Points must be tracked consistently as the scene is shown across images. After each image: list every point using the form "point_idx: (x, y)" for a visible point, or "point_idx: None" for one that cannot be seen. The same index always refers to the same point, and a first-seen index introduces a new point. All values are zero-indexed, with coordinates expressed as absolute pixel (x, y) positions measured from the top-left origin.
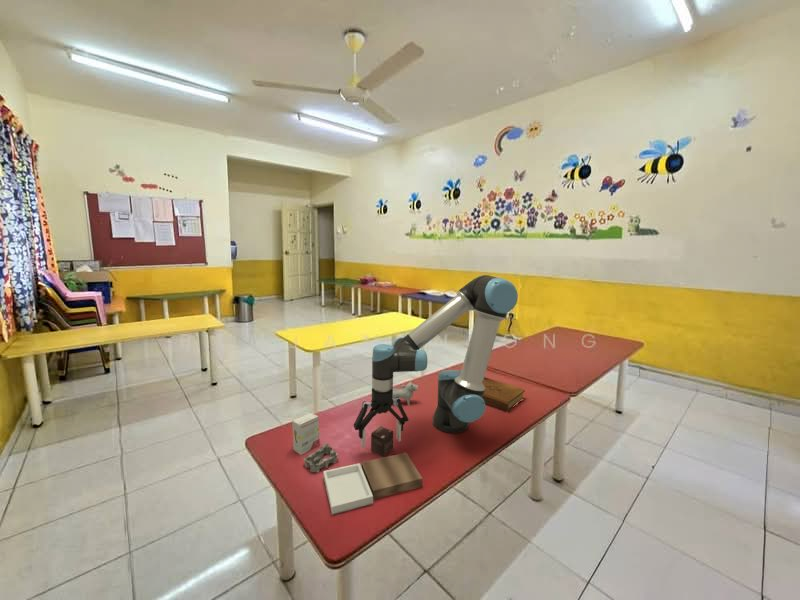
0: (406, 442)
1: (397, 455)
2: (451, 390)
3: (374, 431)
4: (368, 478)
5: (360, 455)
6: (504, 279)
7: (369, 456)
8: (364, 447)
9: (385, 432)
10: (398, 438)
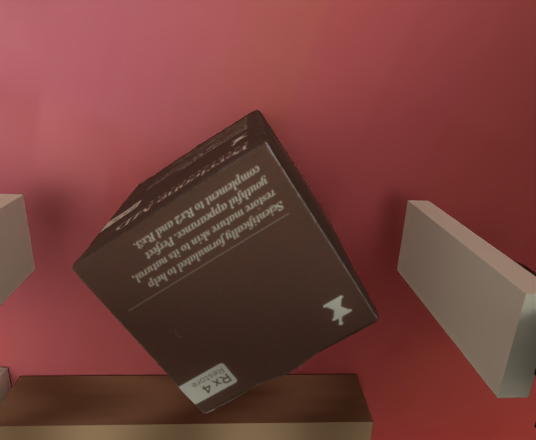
0: (479, 179)
1: (293, 433)
2: None
3: (128, 245)
4: None
5: (32, 213)
6: None
7: None
8: (28, 268)
9: (269, 316)
10: (407, 270)
